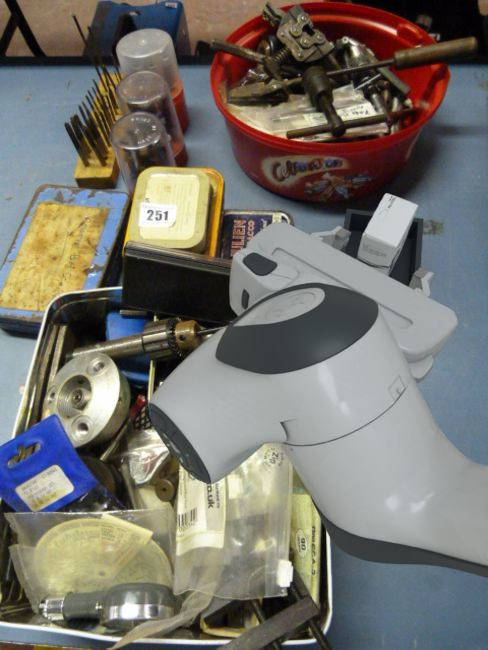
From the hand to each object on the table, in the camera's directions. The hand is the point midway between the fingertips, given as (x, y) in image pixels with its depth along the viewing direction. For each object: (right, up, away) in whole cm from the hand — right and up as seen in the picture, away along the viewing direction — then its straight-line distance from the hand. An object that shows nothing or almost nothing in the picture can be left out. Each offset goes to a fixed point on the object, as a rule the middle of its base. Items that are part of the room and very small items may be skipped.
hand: (383, 253), depth 51 cm
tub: (+6, +1, +27) cm, 27 cm away
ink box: (+6, +1, +26) cm, 27 cm away
